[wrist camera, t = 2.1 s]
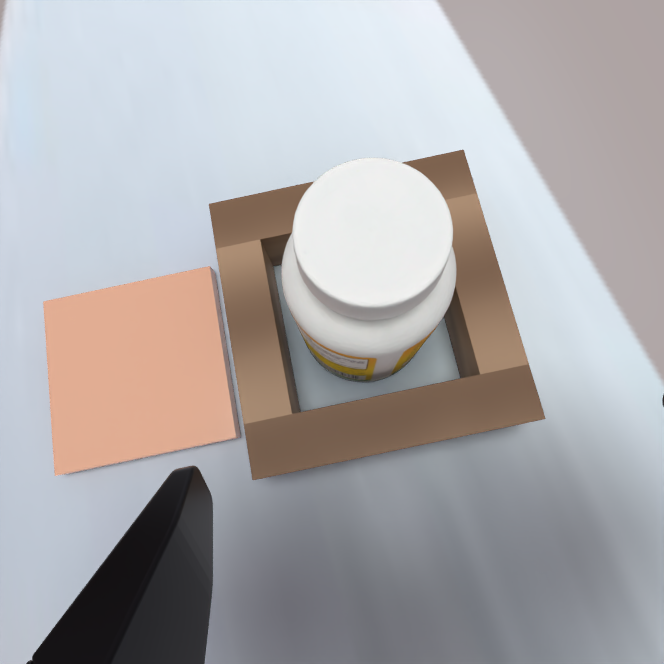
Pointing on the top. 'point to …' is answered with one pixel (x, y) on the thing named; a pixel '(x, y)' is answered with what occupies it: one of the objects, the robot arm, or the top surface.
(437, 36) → the top surface
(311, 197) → the supplement bottle
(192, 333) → the coaster
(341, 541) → the top surface
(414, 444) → the pocket block
